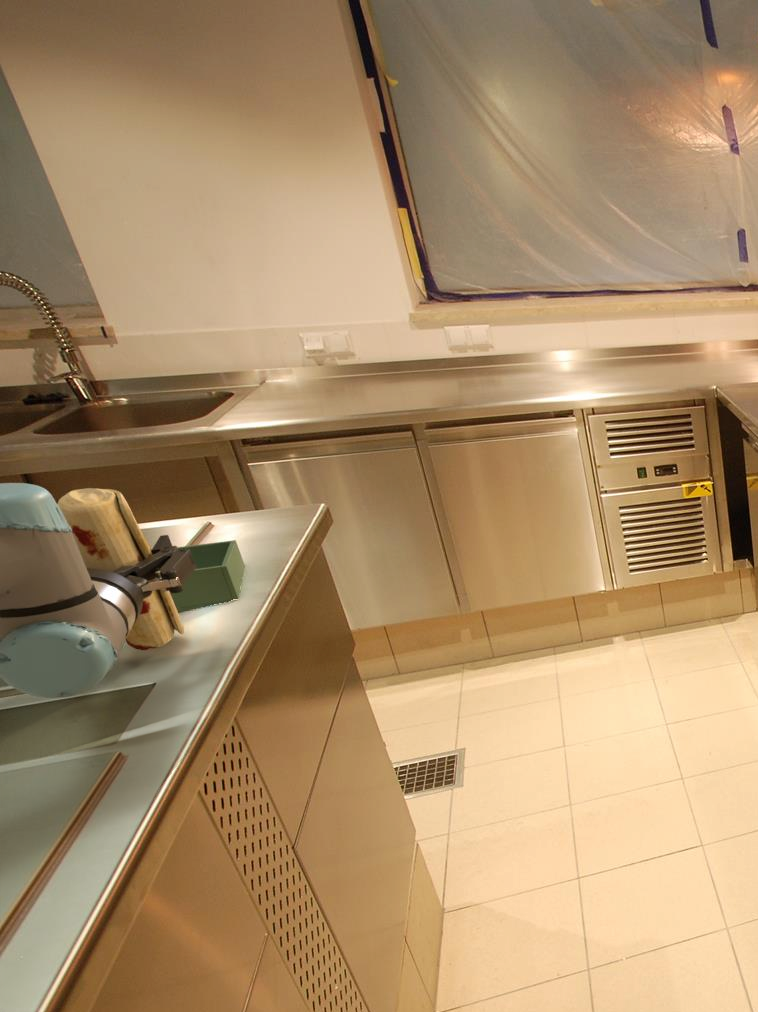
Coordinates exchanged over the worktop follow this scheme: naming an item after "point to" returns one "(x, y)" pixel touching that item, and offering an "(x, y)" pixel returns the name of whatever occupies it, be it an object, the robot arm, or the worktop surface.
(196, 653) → the worktop surface
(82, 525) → the food model
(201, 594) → the bin
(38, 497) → the robot arm
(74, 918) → the worktop surface
